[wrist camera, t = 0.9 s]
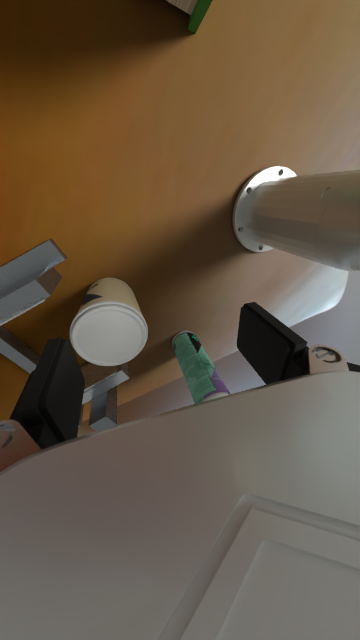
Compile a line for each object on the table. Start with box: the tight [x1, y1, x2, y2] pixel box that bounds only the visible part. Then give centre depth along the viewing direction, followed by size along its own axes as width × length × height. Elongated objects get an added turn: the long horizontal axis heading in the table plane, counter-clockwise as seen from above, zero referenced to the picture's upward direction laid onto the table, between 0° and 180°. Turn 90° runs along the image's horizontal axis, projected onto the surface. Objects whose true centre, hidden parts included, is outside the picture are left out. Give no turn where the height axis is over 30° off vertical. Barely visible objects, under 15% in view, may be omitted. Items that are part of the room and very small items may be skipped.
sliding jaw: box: [80, 362, 129, 431], centre depth 37 cm, size 12×6×12 cm, turn 115°
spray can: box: [172, 330, 230, 404], centre depth 36 cm, size 6×6×20 cm
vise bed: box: [0, 238, 84, 428], centre depth 33 cm, size 17×27×8 cm, turn 25°
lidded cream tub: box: [70, 278, 148, 366], centre depth 31 cm, size 9×9×12 cm
